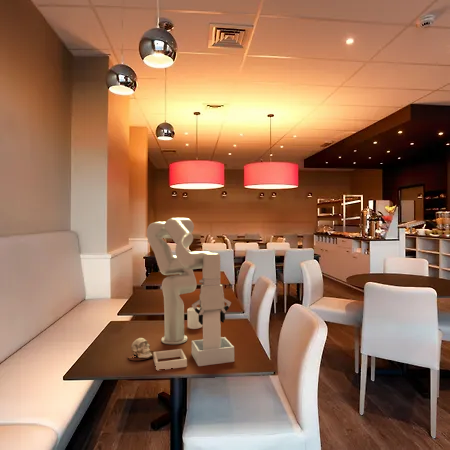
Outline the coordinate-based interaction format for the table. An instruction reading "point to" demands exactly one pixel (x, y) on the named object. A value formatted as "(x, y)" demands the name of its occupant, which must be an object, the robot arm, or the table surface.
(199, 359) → the tub
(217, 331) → the milk carton
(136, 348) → the skull
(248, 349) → the table surface
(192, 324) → the mug
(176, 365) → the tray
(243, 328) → the table surface
